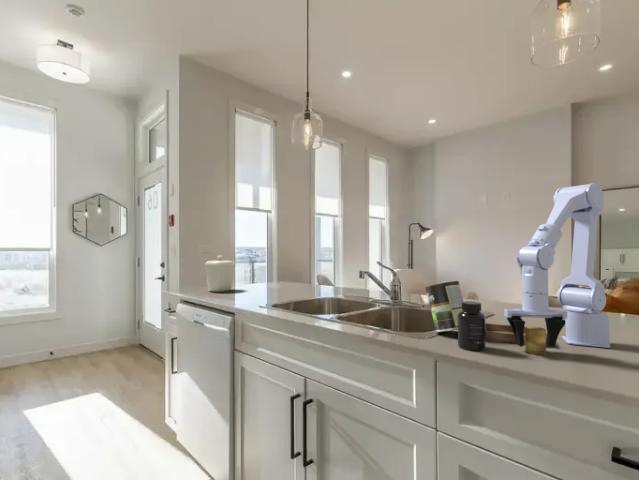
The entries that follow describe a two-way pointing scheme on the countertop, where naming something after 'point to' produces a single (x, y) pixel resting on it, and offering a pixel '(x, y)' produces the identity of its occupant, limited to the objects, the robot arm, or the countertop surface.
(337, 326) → the countertop surface
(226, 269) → the canister
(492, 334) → the tray
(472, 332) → the supplement bottle
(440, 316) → the coffee can
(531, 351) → the tan wooden cylinder
